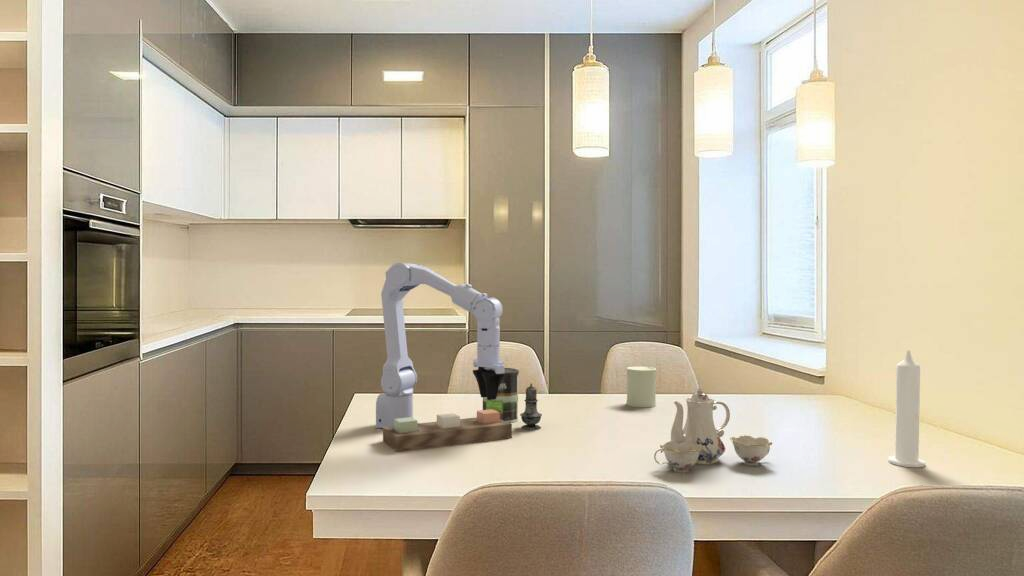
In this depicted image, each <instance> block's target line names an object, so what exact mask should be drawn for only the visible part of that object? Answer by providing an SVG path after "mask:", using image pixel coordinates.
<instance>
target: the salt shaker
mask: <svg viewBox="0 0 1024 576" xmlns="http://www.w3.org/2000/svg"><path fill="white" fill-rule="evenodd" d="M523 401H524V402H525V409H524V412H521V413H520V415H519V416H520V417H521V421H522V422H523V423H524V425H522V426H521V430H524V431H525V430H526V431H537V430H541V429H542V427H541V426H540V425H539V424H538V423H540V421H541V419H542V416H543V414H542V413H540V412H539V411H538V404H537V403H538V401H539V400H538V399H537V387H535V386H533V384H532V383H530V384H529V386H528V387H526V388H525V399H524V400H523Z"/></svg>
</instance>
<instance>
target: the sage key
mask: <svg viewBox="0 0 1024 576" xmlns="http://www.w3.org/2000/svg"><path fill="white" fill-rule="evenodd" d="M417 422H418V420H417V419H415V418H414V417H413V418H412V417H408V418H398V419H394V431H396V432H397V433H407V432H417Z"/></svg>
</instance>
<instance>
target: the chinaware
mask: <svg viewBox="0 0 1024 576" xmlns="http://www.w3.org/2000/svg"><path fill="white" fill-rule="evenodd" d="M704 392H705V391H704V390H703V388H702V387H698V388H697V389H696V392H695V393H692V395H691V397H686V398H684V399H685V401H686V407H687V409H686V410H687V411H686V420H685V424H684V407H683V404H682V403H681V402H679V401H674V402H673V403H674V404H675V407H676V413H675V417H674V419H673V423H672V426H671V429H670V430H671V431H670V440H669V441H666V442H665V443H664V444H660V449H657V450H656V451H655V452H654V454H653V455H654V456H653V458H654V461H655V463H657V464H658V465H664V464H667V466H666V468H667V469H671V467H673V470H674V471H673V472H675V473H677V472H678V473H680V474H681V473H682V474H684V473H690V470H689V469H690V468H692V467H694V466H695V465H712V464H713V465H714V464H718V463H719V461H720V457H721V456H723V454H724V453H725V452H726V447H725V444H724V442H723V441H722V439H721V438H722V437H723V436H724V435H725V431H724V430H723V429H724V428H726V426H727V425H728V423H729V421H730V418H731V414H730V413H731V412H730V409H729V406H728V405H727V404H726V403H724V402H723V401H716V400H715V399H713V398H709V396H708V394H707V393H704ZM717 405H722V406H723V407H724V410H725V420H724V422H723V424H721V426H719V427H717V428H716V426H715V423H714V416H713V415H714V414H713V413H714V412H713V411H715V410H717V409H718V407H717ZM683 424H684V425H683ZM683 426H684V427H683ZM729 440H730V441H731V443H732V445H733V449H734V451H735V453H736V455H737V457H738V458H739V459H741V460H742V461H743V462H742V464H743V465H747V466H749V467H750V466H758V465H760V463H759V462H760V461H762V460H763V459H765V457H766V456H767V455H768V454H769V452H770V451H771V450H770V447H771V446H772V445H773V442H772V441H769V439H768V438H766V437H763V436H761V437H756V438H755V437H753V436H751V435H746V434H745V435H744V434H743V435H740V436H738V437H735V436H731V437H730V439H729ZM659 451H660V454H662V453H664V457H665V460H666V462H665V461H664V462H659V461H658V460H657V458H656V455H657V453H658V452H659Z"/></svg>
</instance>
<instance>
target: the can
mask: <svg viewBox="0 0 1024 576" xmlns="http://www.w3.org/2000/svg"><path fill="white" fill-rule="evenodd" d="M656 375H657V368H656V367H651V366H641V365H640V366H636V365H634V366H628V367H626V403H625V404H626V405H627V406H628V407H633V408H643V409H644V408H653V407H656V406H657V402H656V401H657V400H656V393H657V392H656V389H657V387H656V384H657V383H656Z"/></svg>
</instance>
